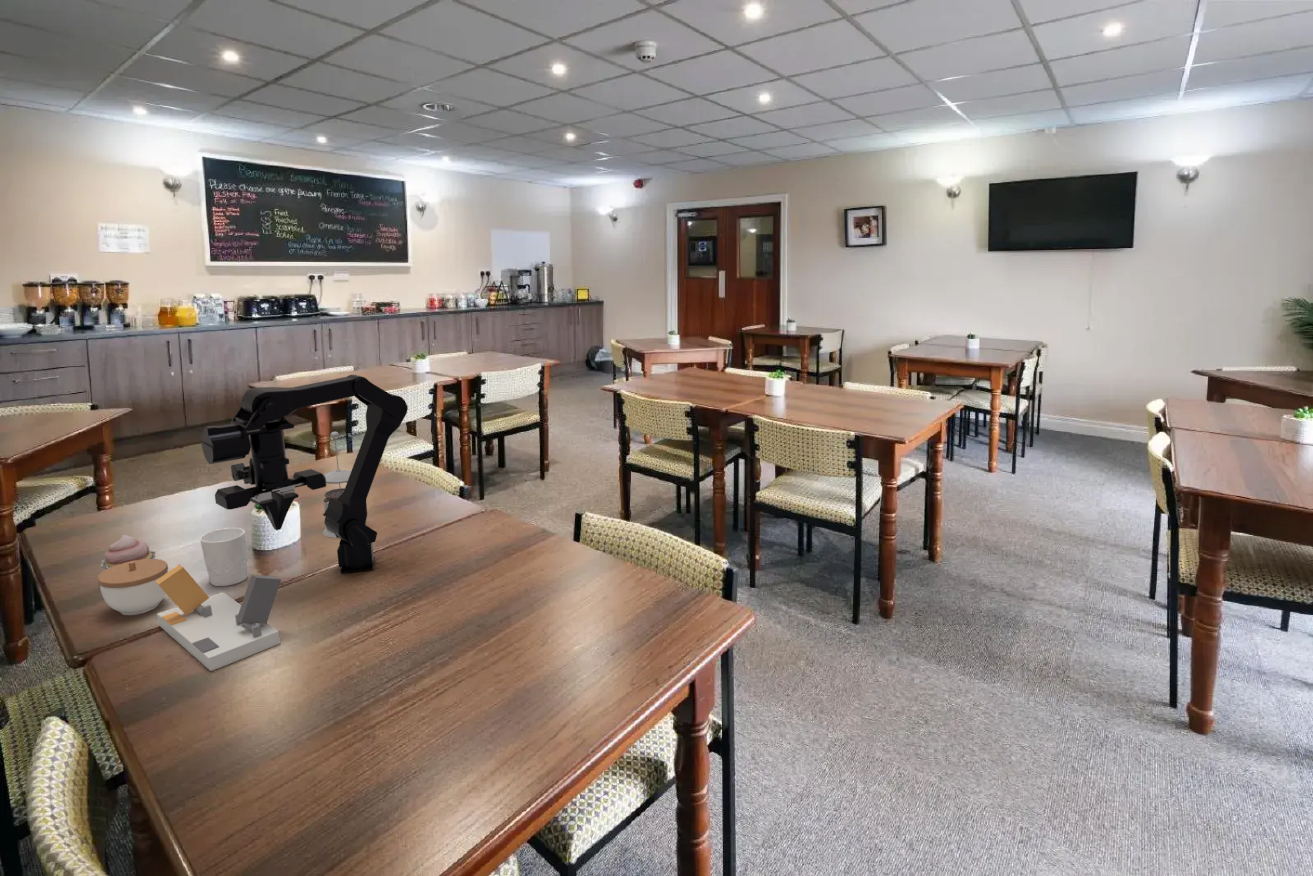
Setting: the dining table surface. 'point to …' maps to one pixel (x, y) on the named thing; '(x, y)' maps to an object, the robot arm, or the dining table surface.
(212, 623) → the switch console
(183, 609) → the orange rocker
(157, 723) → the dining table surface
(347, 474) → the french press
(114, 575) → the lidded jar
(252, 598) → the charcoal rocker
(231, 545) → the white cup
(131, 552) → the cupcake
